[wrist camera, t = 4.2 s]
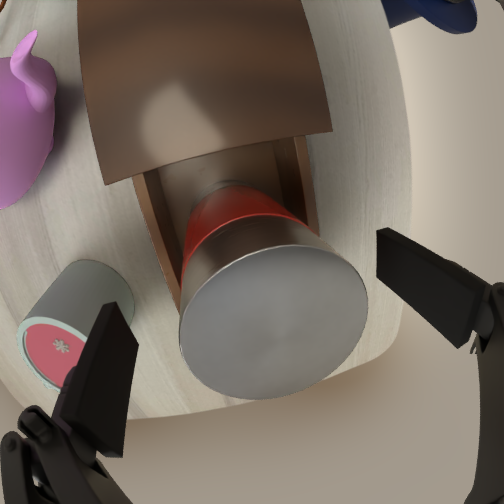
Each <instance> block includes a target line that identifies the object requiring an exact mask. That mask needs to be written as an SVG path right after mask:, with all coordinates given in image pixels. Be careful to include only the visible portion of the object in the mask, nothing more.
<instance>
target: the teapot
mask: <svg viewBox="0 0 504 504" xmlns="http://www.w3.org/2000/svg"><path fill="white" fill-rule="evenodd" d="M37 33H38V32H37V31H36V30H34V31H32V32H30V33H29V34H28V35H26V36H25V37H24V38H23V40H22V41H21V42H20V43H19V45H18V46H17V47H16V49H15V51H14V52H13V55H12V57H6V58H0V210H1V209H3V208H6V207H8V206H10V205H12V204H14V203H15V202H17V201H18V200H19V199H20V198H21V197H22V196H23V195H24V194H25V193H26V192H27V191H28V190H29V188H30V187H31V186H32V184H33V183H34V181H35V180H36V178H37V176H38V175H39V173H40V171H41V169H42V167H43V165H44V162H45V160H46V157H47V155H48V154H49V153H50V152H51V150H52V148H53V145H54V138H53V128H54V117H55V107H54V97H55V93H56V89H57V79H56V75H55V71H54V69H53V67H52V66H51V64H50V63H49V62H47V61H46V60H44V59H42V58H38V57H35V56H33V55H32V54H31V51H32V48H33V45H34V43H35V41H36V38H37Z"/></svg>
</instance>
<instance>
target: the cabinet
mask: <svg viewBox="0 0 504 504" xmlns="http://www.w3.org/2000/svg"><path fill="white" fill-rule="evenodd" d="M77 20H78V41H79V54H80V64H81V73H82V80H83V88H84V94H85V100H86V106H87V112H88V117H89V122H90V127H91V132H92V137H93V141H94V145H95V150H96V154H97V158H98V162H99V166H100V170H101V173H102V177H103V180H104V184H105V186H106V185H109V184H112V183H115V182H117V181H120V180H123V179H126V178H129V177H132V176H135V175H138V174H141V173H144V172H147V171H150V170H153V169H157V168H160V167H163V166H167V165H170V164H174V163H177V162H181V161H184V160H188V159H192V158H195V157H199V156H203V155H207V154H211V153H215V152H219V151H224V150H228V149H233V148H237V147H242V146H247V145H252V144H257V143H262V142H267V141H273V140H278V139H284V138H290V137H297V136H304V135H311V134H318V133H326V132H332V131H333V129H332V123H331V118H330V112H329V107H328V102H327V97H326V92H325V88H324V83H323V79H322V74H321V70H320V66H319V62H318V58H317V54H316V50H315V46H314V43H313V39H312V36H311V32H310V29H309V25H308V22H307V19H306V16H305V12H304V9H303V6H302V3H301V0H77Z"/></svg>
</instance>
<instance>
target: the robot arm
mask: <svg viewBox="0 0 504 504" xmlns="http://www.w3.org/2000/svg"><path fill="white" fill-rule="evenodd" d="M443 1H445V2H447V3H450V4H456V3H460V2H462V1H464V0H443ZM496 1H498V2H499V3H500V4H501V6H502V8H503V10H504V0H496ZM376 236H377V269H376V277H377V278H378V279H379V280H380V281H382V282H383V283H384V284H385V285H386V286H388V287H389V288H390V289H391V290H392V291H393V292H395V293H396V294H397V295H398V296H399V297H401V298H402V299H403V300H404V301H405V302H406V303H408V304H409V305H410V306H411V307H412V308H413V309H414V310H415V311H417V312H418V313H419V314H420V315H421V316H422V317H424V319H426V320H427V321H428V322H429V323H430V324H431V325H432V326H433V327H434V328H436V329H437V330H438V331H439V332H440V333H441V334H442V335H443V336H444V337H445V338H446V339H447V340H449V341H450V342H451V343H452V344H453V345H454V346H455V347H456V348H457V349H458V348H460V347H461V346H462V345H464V344H465V343H467V342H468V341H469V338H470V336H471V333H472V330H474V331H475V332H476V333H477V334H476V337H475V340H474V342H473V345H472V347H471V350H470V354H472V353H473V350H474V348H475V347H476V353H475V354H477V359H478V369H479V382H480V436H479V449H478V459H477V467H476V474H475V480H474V485H473V488H472V490H471V492H470V493H469V495H468V497H467V498H466V500H465V502H464V504H504V283H502V282H499V283H495V284H493V285H490V284H488V283H487V282H486V281H484V280H483V279H481V278H480V277H478V276H476V275H475V274H473V273H472V272H469V271H468V270H467V269H465V268H463V267H462V266H460V265H459V264H457V263H455V262H453V261H450V260H447V259H444V258H443V257H441V256H439V255H437V254H435V253H434V252H432V251H431V250H429V249H427V248H425V247H424V246H422V245H420V244H418V243H416V242H415V241H413V240H411V239H409V238H407V237H405V236H404V235H402V234H400V233H398V232H396V231H394V230H392V229H390V228H388V227H387V228H383V229H380V230H376ZM138 347H139V344H138V342H137V340H136V338H135V337H134V335H133V333H132V331H131V329H130V327H129V326H128V324H127V322H126V320H125V318H124V316H123V314H122V312H121V310H120V308H119V306H118V304H117V302H116V301H114V302H110V303H106V304H103V305H102V307H101V310H100V312H99V314H98V316H97V318H96V320H95V322H94V325H93V327H92V329H91V331H90V334H89V336H88V338H87V341H86V343H85V345H84V348H83V350H82V352H81V355H80V357H79V360H78V362H77V365H76V366H73V367H72V368H71V370H70V371H69V372H68V373H67V375H66V377H65V379H64V382H63V387H61V390H60V394H59V396H58V398H57V401H56V404H55V407H54V410H53V413H52V416H51V418H50V417H49V416H48V415H47V414H46V413H45V412H44V411H43V410H42V409H41V407H39V406H37V405H32V406H30V407H28V408H26V409H25V410H24V411H23V412H22V413H21V415H20V417H19V419H18V429H19V430H20V431H21V432H22V433H24V434H25V435H26V436H27V437H28V438H25V439H24V438H22V437H21V436H20V435H19V434H18V433H17V432H14V431H10V432H8V433H7V434H5V435H4V437H3V439H2V441H1V445H0V458H1V459H0V461H1V474H2V475H1V476H2V486H3V494H4V500H5V504H133V503H132V502H131V501H130V500H129V499H128V497H127V496H126V495H125V494H124V493H123V491H122V490H121V489H120V487H119V486H118V485H117V484H116V482H115V481H114V480H113V478H112V477H111V476H110V474H109V473H108V472H107V470H106V469H105V467H104V466H103V464H102V463H101V462H100V461H99V460H98V459H97V458H96V451H99V452H100V453H101V454H102V455H104V456H105V457H118V458H119V457H120V458H122V457H123V447H124V446H123V445H124V437H125V428H126V420H127V412H128V405H129V398H130V392H131V385H132V379H133V374H134V368H135V363H136V357H137V352H138ZM33 478H34V479H35V480H37V481H38V486H35V485H34V481H33Z"/></svg>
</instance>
